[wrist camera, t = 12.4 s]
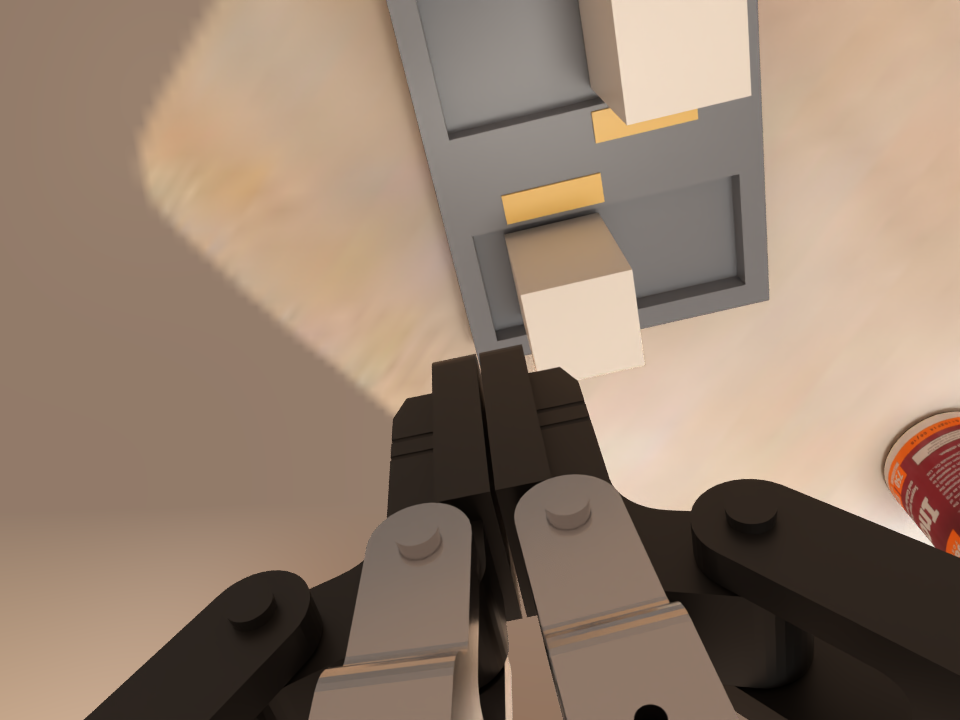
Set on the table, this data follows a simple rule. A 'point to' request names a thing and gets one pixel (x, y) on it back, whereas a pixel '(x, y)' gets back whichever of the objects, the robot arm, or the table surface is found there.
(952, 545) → the pill bottle
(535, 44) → the switch board
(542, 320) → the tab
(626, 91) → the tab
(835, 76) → the table surface
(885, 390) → the table surface
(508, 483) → the robot arm
